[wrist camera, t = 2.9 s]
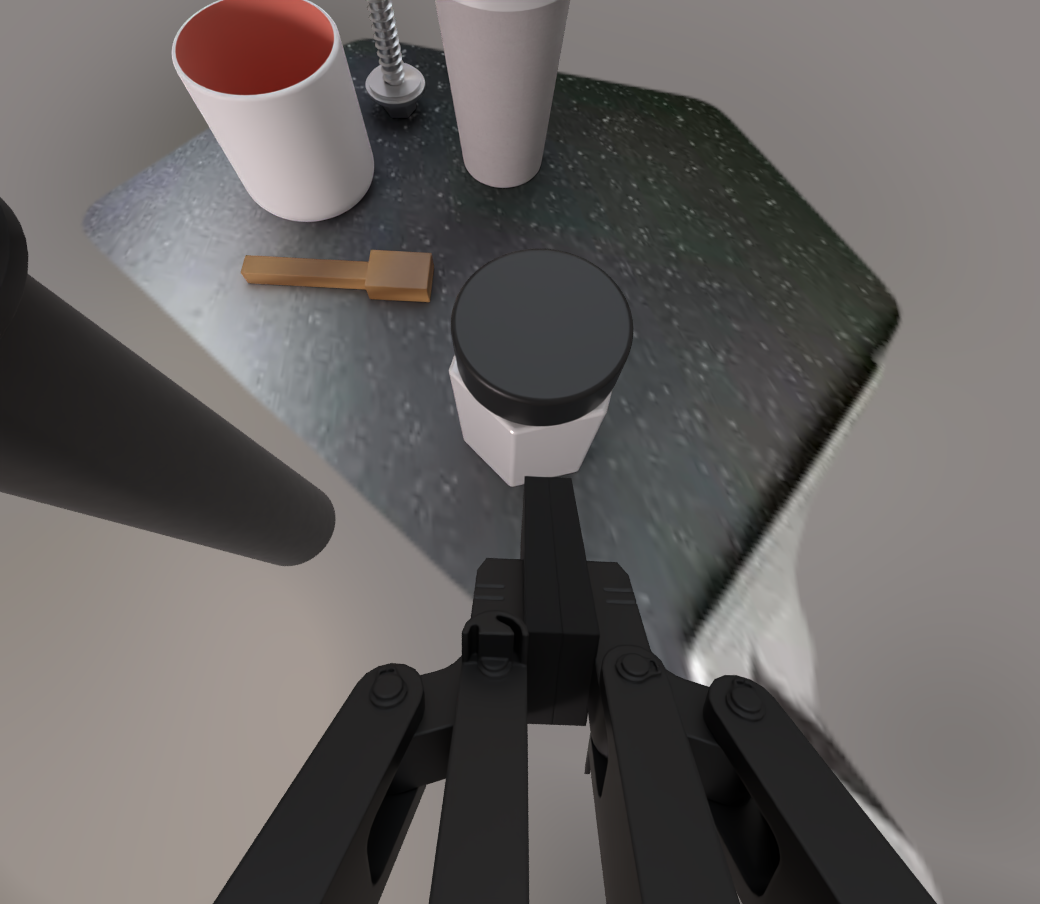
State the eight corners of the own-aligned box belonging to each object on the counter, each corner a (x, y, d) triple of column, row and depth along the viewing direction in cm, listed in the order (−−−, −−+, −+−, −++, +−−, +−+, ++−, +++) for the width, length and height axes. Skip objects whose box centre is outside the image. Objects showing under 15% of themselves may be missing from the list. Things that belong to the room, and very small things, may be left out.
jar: (575, 359, 34) (610, 230, 23) (611, 466, 32) (669, 378, 21) (451, 385, 34) (424, 264, 22) (477, 498, 31) (461, 424, 20)
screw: (361, 115, 42) (391, 82, 43) (409, 136, 41) (438, 101, 43) (302, -95, 30) (347, -132, 31) (369, -71, 29) (412, -110, 30)
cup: (298, 252, 37) (228, 124, 27) (226, 176, 39) (138, 34, 30) (403, 186, 39) (371, 48, 30) (330, 119, 42) (279, -29, 32)
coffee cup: (581, 149, 41) (621, -98, 27) (518, 221, 39) (527, -14, 24) (488, 102, 43) (480, -155, 29) (421, 168, 40) (377, -81, 26)
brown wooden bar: (245, 292, 36) (234, 278, 34) (255, 257, 37) (245, 242, 35) (429, 302, 36) (426, 289, 34) (434, 267, 37) (431, 252, 35)
